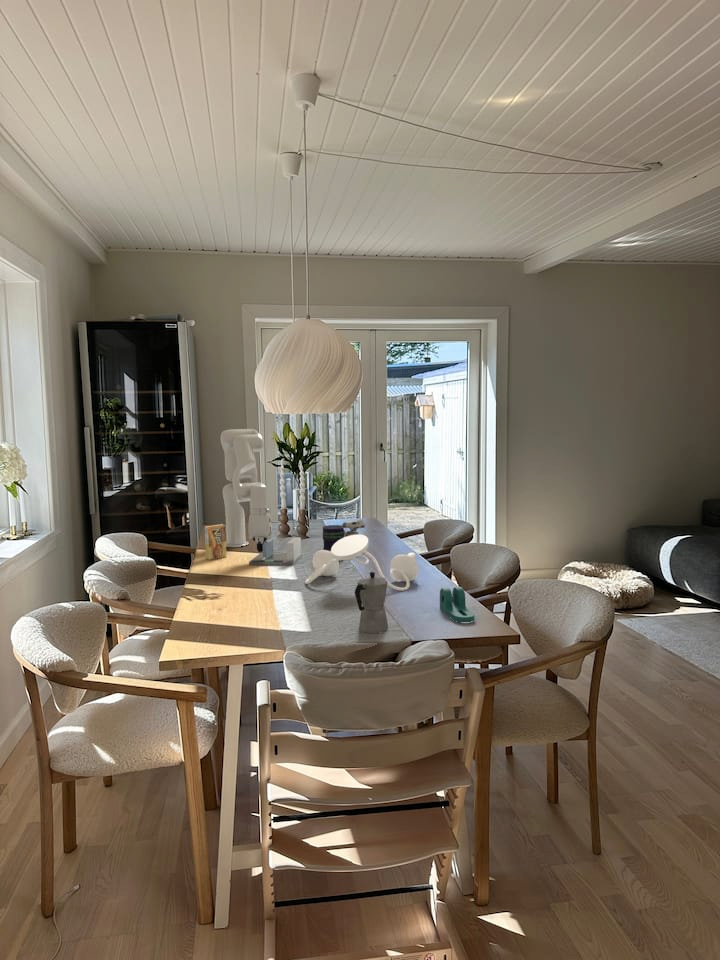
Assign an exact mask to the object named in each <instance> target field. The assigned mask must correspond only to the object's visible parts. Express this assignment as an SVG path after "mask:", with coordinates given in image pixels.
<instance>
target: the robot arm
mask: <svg viewBox="0 0 720 960" xmlns="http://www.w3.org/2000/svg"><path fill="white" fill-rule="evenodd" d="M220 444H221V446H222V447H221V448H222V450H223V452H224V472H225V473H224V474H225V478H226V480H227V481H229V482H232V483H227V484H226V485H224V487H222V497H223V502H224V512H225V514H224V515H225V532H226V548H242V547H241V546H243V547H247V546H249V545H248V544H250V543H249V541H246V540H247V539H246V520H245V518H246V517H245V515H246V514H245V510H244V508H243V506H242V505H241V504H240V503H243V502H250V514H249V516H248V522H247V523H248V527H247V531H248V532H247V534H248V536H247V538H248V539H249V540H251V541H252V540H253V541H254V542H255V544H256V551H257V553H263V544H264V543H265V542H267V541H268V540H270V539H273V537H272V534H273V529H272V522H271V521H272V520H271V515H270V514H269V513H271V509H270V508H268V498H267V497H268V494H267V493H268V491H267V486H266V485H265V484H264V483H263V482H258V467H257V461H256V457H255V453H256V452H263V450H264V447H265V440H264V438H263V436H262V435H261V433H259V432H258V431H257V430H256V429H254V428H241V429H239V428H236V429H235V428H233V429H226V430H224V431H221V434H220ZM240 481H246V482H240ZM246 545H247V546H246Z"/></svg>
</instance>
